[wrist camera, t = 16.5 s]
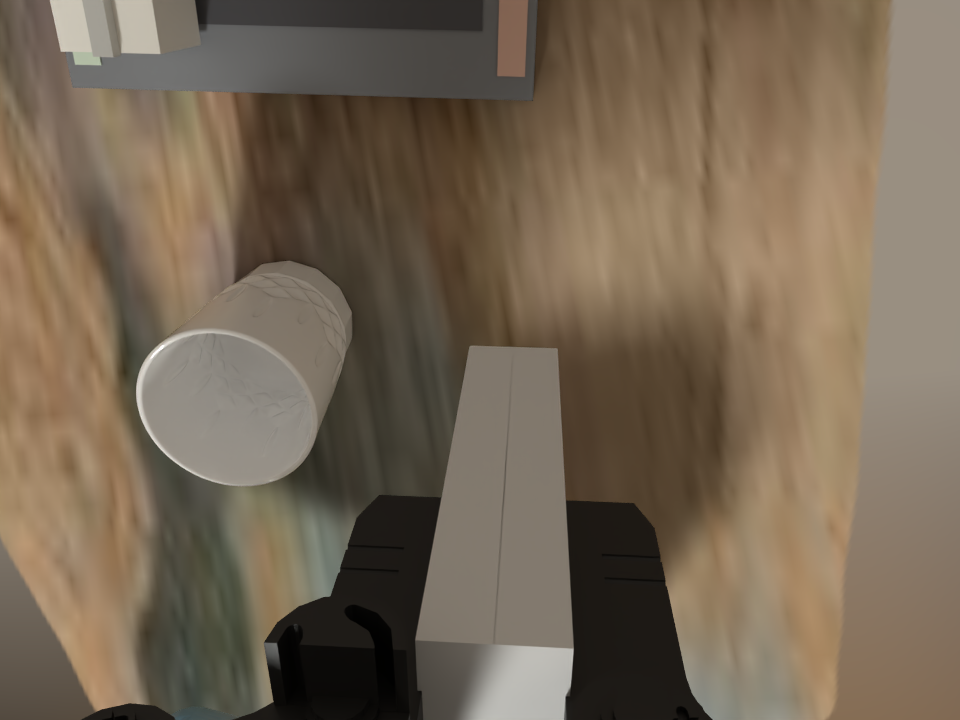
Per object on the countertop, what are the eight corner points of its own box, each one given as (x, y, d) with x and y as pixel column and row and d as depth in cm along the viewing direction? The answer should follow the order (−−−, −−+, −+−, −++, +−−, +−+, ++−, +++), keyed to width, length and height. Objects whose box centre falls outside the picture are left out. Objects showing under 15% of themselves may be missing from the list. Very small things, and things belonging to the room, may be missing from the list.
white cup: (215, 242, 40) (123, 320, 31) (364, 255, 40) (313, 337, 31) (227, 374, 44) (148, 478, 35) (364, 387, 44) (319, 494, 35)
